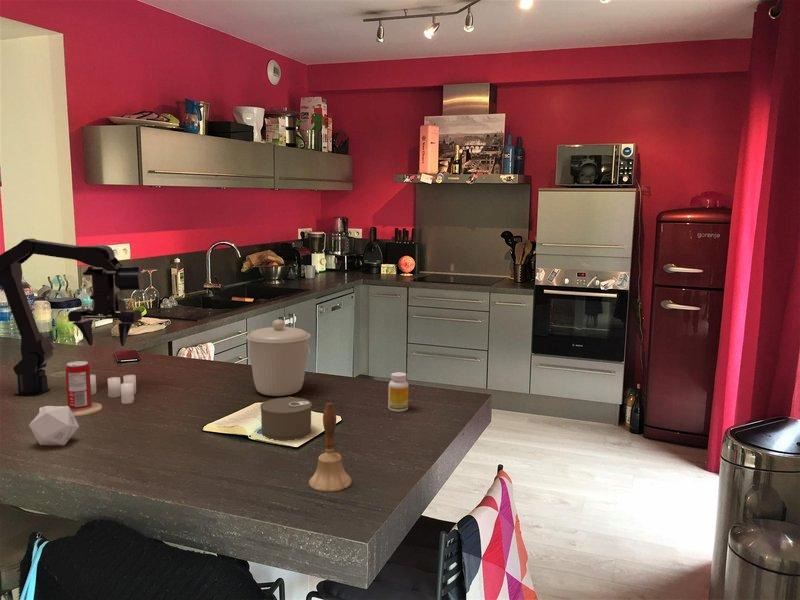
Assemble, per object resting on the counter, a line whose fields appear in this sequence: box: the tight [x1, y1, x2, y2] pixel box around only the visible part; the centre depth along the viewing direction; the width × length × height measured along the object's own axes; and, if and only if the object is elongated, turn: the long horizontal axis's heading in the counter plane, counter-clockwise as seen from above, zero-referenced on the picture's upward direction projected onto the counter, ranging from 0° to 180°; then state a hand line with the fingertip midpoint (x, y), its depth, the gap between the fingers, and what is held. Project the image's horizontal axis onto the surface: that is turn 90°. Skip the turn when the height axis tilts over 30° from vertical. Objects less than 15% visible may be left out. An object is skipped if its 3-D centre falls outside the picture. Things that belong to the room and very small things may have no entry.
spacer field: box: [38, 373, 137, 414], centre depth 169 cm, size 17×33×5 cm, turn 177°
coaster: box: [65, 401, 103, 417], centre depth 169 cm, size 10×10×1 cm
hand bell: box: [308, 402, 352, 492], centre depth 126 cm, size 8×8×16 cm
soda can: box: [65, 360, 93, 411], centre depth 168 cm, size 6×6×12 cm
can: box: [260, 396, 313, 442], centre depth 155 cm, size 12×12×7 cm
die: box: [28, 405, 80, 446], centre depth 145 cm, size 8×9×10 cm
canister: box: [245, 319, 311, 397], centre depth 187 cm, size 18×18×21 cm
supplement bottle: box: [387, 371, 410, 413], centre depth 174 cm, size 5×5×10 cm
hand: (107, 345), depth 185 cm, fingers open, 9 cm apart
